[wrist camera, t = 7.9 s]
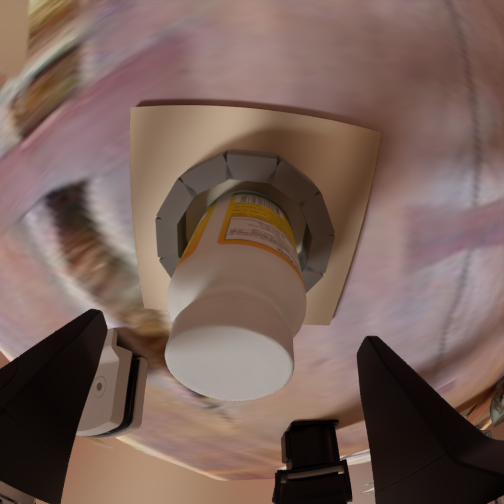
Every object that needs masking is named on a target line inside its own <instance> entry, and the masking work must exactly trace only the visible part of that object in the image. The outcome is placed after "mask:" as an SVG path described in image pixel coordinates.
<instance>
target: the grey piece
mask: <svg viewBox="0 0 504 504" xmlns="http://www.w3.org/2000/svg"><path fill="white" fill-rule="evenodd" d="M117 334H118V331H117V330H116V329H114V328H112V329H109V330H108V332H107V336H106V340H105V343H104V347H103V351H102V354H101V358H100V362H99V366H98V369H97V372H96V375H95V378H94V380H93V383H92V386H91V389H90V392H89V395H88V398H87V400H86V403H85V407H84V410H83V413H82V416H81V419H80V422H79V426H78V429H77V433H76V435H80V436H83V437H87V438H112V437H117V436H121V435H124V434H127V433H130V432H132V431H134V430H136V429H138V428H139V427H140V425H141V423H142V413H143V403H144V393H145V385H146V377H147V369H148V361H147V360H146V359H145V358H143V357H139V358H134V359H133V356H132V352H131V351H129V350H127V349H124V348H122V347H119V346H117V345H116V343H117Z"/></svg>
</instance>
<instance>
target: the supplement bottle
mask: <svg viewBox="0 0 504 504" xmlns="http://www.w3.org/2000/svg"><path fill="white" fill-rule="evenodd" d="M167 306H168V311H169V315H170V318H171V320H172V322H173V324H172V327H171V332H170V336H169V339H168V342H167V345H166V350H165V360H166V364H167V366H168V368H169V370H170V372H171V373H172V374H173V376H174V377H175V378H176V379H177V380H178V381H179V382H181V383H182V384H183V385H185V386H186V387H188V388H190V389H191V390H193V391H195V392H197V393H199V394H202V395H205V396H208V397H211V398H215V399H220V400H228V401H247V400H254V399H259V398H262V397H265V396H268V395H271V394H273V393H275V392H276V391H278V390H279V389H281V388H282V387H284V386H285V385H286V384H287V383H288V381H289V380H290V378H291V377H292V374H293V371H294V352H293V338H294V337H295V336H296V334H297V333H298V331H299V330H300V328H301V326H302V324H303V322H304V318H305V315H306V306H307V301H306V292H305V286H304V282H303V277H302V272H301V267H300V263H299V258H298V254H297V249H296V245H295V240H294V236H293V231H292V227H291V223H290V220H289V218H288V216H287V214H286V212H285V211H284V209H283V208H282V207H281V206H280V205H279V204H278V203H277V202H276V201H275V200H274V199H272V198H271V197H269V196H267V195H265V194H262V193H260V192H256V191H251V190H239V191H233V192H230V193H227V194H224V195H222V196H221V197H219V198H217V199H216V200H215V201H213V202H212V203H211V204H210V206H209V207H208V208H207V209H206V211H205V213H204V214H203V216H202V218H201V220H200V222H199V224H198V226H197V228H196V230H195V232H194V234H193V235H192V237H191V239H190V241H189V243H188V245H187V247H186V249H185V251H184V253H183V255H182V257H181V259H180V261H179V262H178V265H177V267H176V269H175V271H174V274H173V276H172V278H171V281H170V284H169V288H168V293H167Z"/></svg>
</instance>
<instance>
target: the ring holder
mask: <svg viewBox="0 0 504 504" xmlns="http://www.w3.org/2000/svg"><path fill="white" fill-rule="evenodd" d="M381 136H382V132H378V131H375V130H371V129H367V128H363V127H359V126H355V125H351V124H347V123H342V122H338V121H333V120H328V119H323V118H318V117H312V116H306V115H300V114H294V113H287V112H279V111H271V110H263V109H253V108H241V107H226V106H202V105H168V106H144V107H131V118H130V182H131V202H132V216H133V228H134V238H135V247H136V256H137V264H138V271H139V278H140V285H141V291H142V297H143V303H144V308H149V309H155V310H162V311H168V306H167V293H168V288H169V284H170V281H171V278H172V276H173V274H174V271H175V269H176V267H177V265H178V262H179V261H180V259H181V257H182V255H183V253H184V251H185V249H186V247H187V245H188V243H189V241H190V239H191V237H192V235H193V234H194V232H195V230H196V228H197V226H198V224H199V222H200V220H201V218H202V216H203V214H204V213H205V211H206V209H207V208H208V207H209V206H210V204H211V203H212V202H213V201H215V200H216V199H217V198H219V197H221V196H222V195H224V194H227V193H230V192H233V191H239V190H251V191H256V192H260V193H262V194H265V195H267V196H269V197H271V198H272V199H274V200H275V201H276V202H277V203H278V204H279V205H280V206H281V207H282V208H283V209H284V211H285V212H286V214H287V216H288V218H289V220H290V223H291V227H292V231H293V236H294V240H295V245H296V249H297V254H298V258H299V263H300V267H301V272H302V277H303V282H304V286H305V292H306V301H307V306H306V315H305V318H304V322H303V324H309V325H330V322H331V320H332V317H333V314H334V312H335V309H336V306H337V303H338V300H339V297H340V295H341V292H342V289H343V286H344V283H345V280H346V277H347V274H348V270H349V267H350V264H351V261H352V258H353V254H354V251H355V248H356V244H357V241H358V237H359V234H360V230H361V226H362V223H363V219H364V215H365V211H366V207H367V203H368V199H369V195H370V190H371V186H372V182H373V177H374V172H375V168H376V163H377V158H378V152H379V147H380V141H381Z"/></svg>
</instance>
